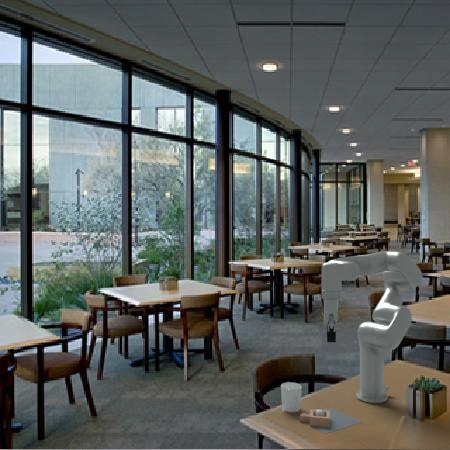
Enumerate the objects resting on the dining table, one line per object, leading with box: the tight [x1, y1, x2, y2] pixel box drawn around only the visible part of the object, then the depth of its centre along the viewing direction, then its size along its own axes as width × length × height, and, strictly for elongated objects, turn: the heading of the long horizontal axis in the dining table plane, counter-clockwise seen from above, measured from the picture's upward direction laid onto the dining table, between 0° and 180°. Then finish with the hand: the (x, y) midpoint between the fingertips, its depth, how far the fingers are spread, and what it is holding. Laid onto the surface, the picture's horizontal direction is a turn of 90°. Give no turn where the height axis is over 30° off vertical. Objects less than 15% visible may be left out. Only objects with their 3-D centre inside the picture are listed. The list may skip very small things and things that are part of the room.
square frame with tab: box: [299, 408, 330, 427], centre depth 172 cm, size 10×7×3 cm
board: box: [294, 407, 363, 435], centre depth 173 cm, size 18×16×5 cm
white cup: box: [280, 382, 303, 413], centre depth 184 cm, size 8×8×10 cm
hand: (331, 338), depth 183 cm, fingers open, 9 cm apart
